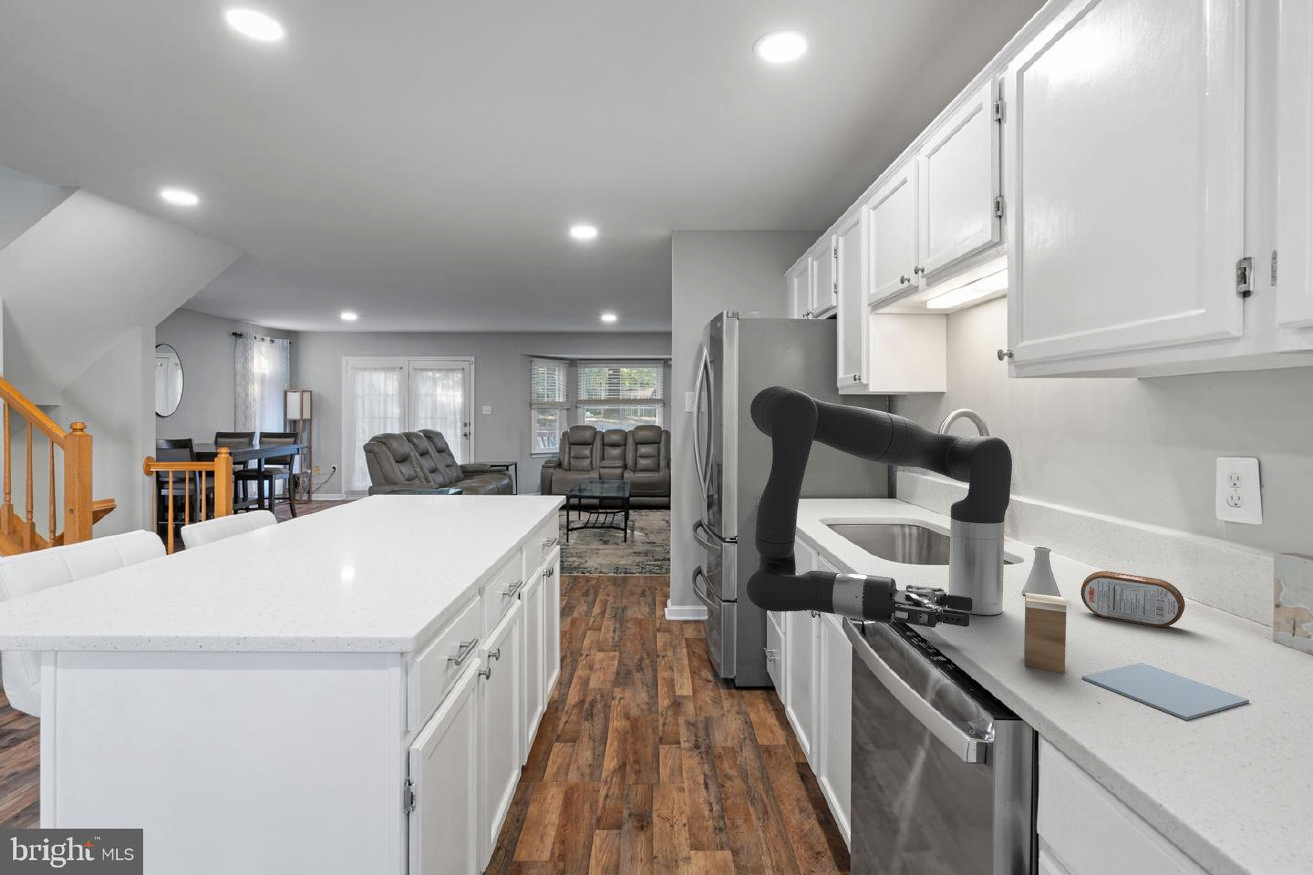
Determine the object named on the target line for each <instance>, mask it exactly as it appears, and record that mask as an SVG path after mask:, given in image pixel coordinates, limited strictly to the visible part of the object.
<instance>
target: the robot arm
mask: <svg viewBox="0 0 1313 875" xmlns="http://www.w3.org/2000/svg"><path fill="white" fill-rule="evenodd" d="M749 409H750V410H749V411H750V412H749V413H750V417H751V420H752V422H753V425H755V427H756V428H757V429H758V430H759V431H760V432H761V433H762V434H764V435H765V436H767V437H769V438H771V444H772V445H771V446H772V447H771V448H772V459H771V460H772V463H771V468H770V473H769V476H768V479H767V482H766V484H765V487H764V489H763V491H762V494H761V497H760V499H759V503H758V507H757V512H756V513H757V514H756V525H755V537H754V538H755V541H754V543H755V544H754V545H755V549H756V551H757V552H758V553H759V554H760V558H759V560H760V561H759V567H758V569H757V570H755V572H754V573H753V574H752V575H751V576H750V577H749V579H748V581H747V583H746V594H747V597H748V600H750V602H751V603H752V604H753V605H754V606H755V607H758V608H760V609H762V610H763V611H767V612H768V611H769V612H775V613H776V612H783V613H784V612H787V613H788V612H803V611H815V612H819V613H825V614H831V615H837V616H842V617H845V618H849V619H856V620H861V621H868V622H874V623H880V624H881V623H882V624H886V625H887V624H888V625H891V624H892V623H894V621H895V622H897V623H902V624H903V623H904V624H909V625H915V626H921V627H928V628H931V629H932V628H933V629H934V628H937V626H940V625H941V626H942V625H952V626H958V627H965V628H966V627H967V628H968V627H969V626H970V623H971V622H970V621H971V620H970V618H971V615H970V614H973V615H981V616H985V615H986V616H992V615H993V616H995V615H999V614H1002V613H1003V609H1004V607H1003V606H1004V604H1003V603H1004V602H1003V601H1004V600H1003V599H1004V564H1005V561H1004V560H1005V558H1004V557H1005V556H1004V554H1005V515H1006V512H1007V509H1008V507H1009V504H1010V498H1011V485H1012V473H1013V457H1012V451H1011V450H1010V447H1009V446H1008V444H1007V442H1006V441H1005V440H1003V439H1002V438H1000V437H997V436H987V435H965V434H964V435H959V434H958V435H956V434H946V433H940V432H934V431H931V430H927V429H926V428H923V427H922V426H921V425H919V424H918V423H917V422H915V421H913V420H911V419H909V418H906V417H904V416H901V415H897V414H893V413H889V412H885V411H881V410H876V409H871V408H865V407H860V406H853V405H845V404H838V403H831V402H826V401H822V400H819V399H816V398H813V397H811V396H810V395H809V394H807V393H805V392H804V391H800V390H798V389H794V388H791V387H788V386H784V385H773V386H769V387H766V388H765V389H762V390H761V391H759V392H758V393H757V394H756V395H755V396H754V397H753V399H752V401H751V403H750V408H749ZM813 441H815V442H817V443H821V444H823V445H826V446H828V447H831V448H833V449H835V450H838V451H841V452H842V453H845V454H848V455H852V456H854V457H856V458H860V459H863V460H867V461H870V462H875V463H879V464H884V465H888V466H894V467H902V468H903V467H904V468H920V469H923V470H927V471H930V472H933V473H937V474H938V475H942V476H945V477H947V478H949V479H951V480H955V481H958V482H960V483H965V484H966V483H967V484H968V492H967V495H966V496H965V497H964V498H963V499H961V500H958V501H955V502H953V503H952V504H951V506H950V530H949V531H950V542H949V556H948V558H949V559H948V562H949V563H948V593H947V591H945V590H944V589H943V588H941V587H939V588H935V587H929V586H918V585H912V584H907V585H906V586H905V590H902V589H901V590H900V589H897V582H896V580H895V578H893V577H888V576H881V575H879V576H878V575H873V574H872V575H871V574H862V573H855V572H854V573H852V572H839V573H838V572H835V571H834V572H833V571H826V570H824V571H823V570H810V571H806V572H805V573H803V574H796V573H797V570H796V569H797V568H796V566H797V565H796V555H795V554H796V553H795V544H796V543H795V542H796V532H797V520H798V510H799V503H800V502H799V501H800V497H801V491H802V486H803V481H804V477H805V473H806V469H807V465H808V461H809V457H810V452H811V449H812V444H813Z"/></svg>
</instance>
